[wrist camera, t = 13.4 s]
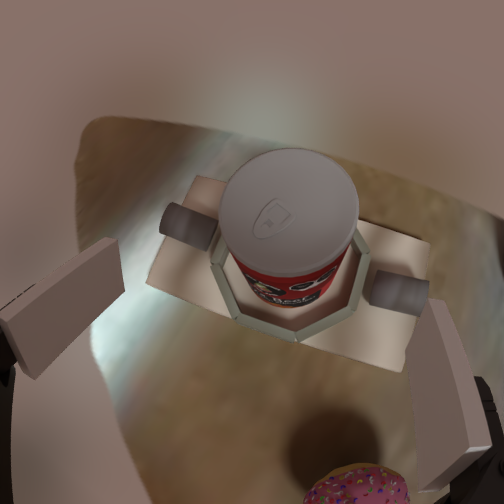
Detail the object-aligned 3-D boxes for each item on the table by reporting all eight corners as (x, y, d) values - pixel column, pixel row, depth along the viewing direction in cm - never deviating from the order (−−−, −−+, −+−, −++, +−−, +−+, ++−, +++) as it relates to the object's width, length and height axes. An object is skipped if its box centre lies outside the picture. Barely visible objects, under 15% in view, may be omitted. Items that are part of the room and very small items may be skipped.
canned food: (229, 285, 27) (190, 236, 17) (273, 210, 29) (261, 130, 18) (310, 327, 25) (323, 302, 14) (349, 244, 27) (378, 175, 16)
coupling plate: (426, 245, 27) (446, 225, 22) (395, 375, 23) (415, 377, 19) (201, 179, 32) (188, 152, 28) (149, 288, 29) (125, 275, 25)
